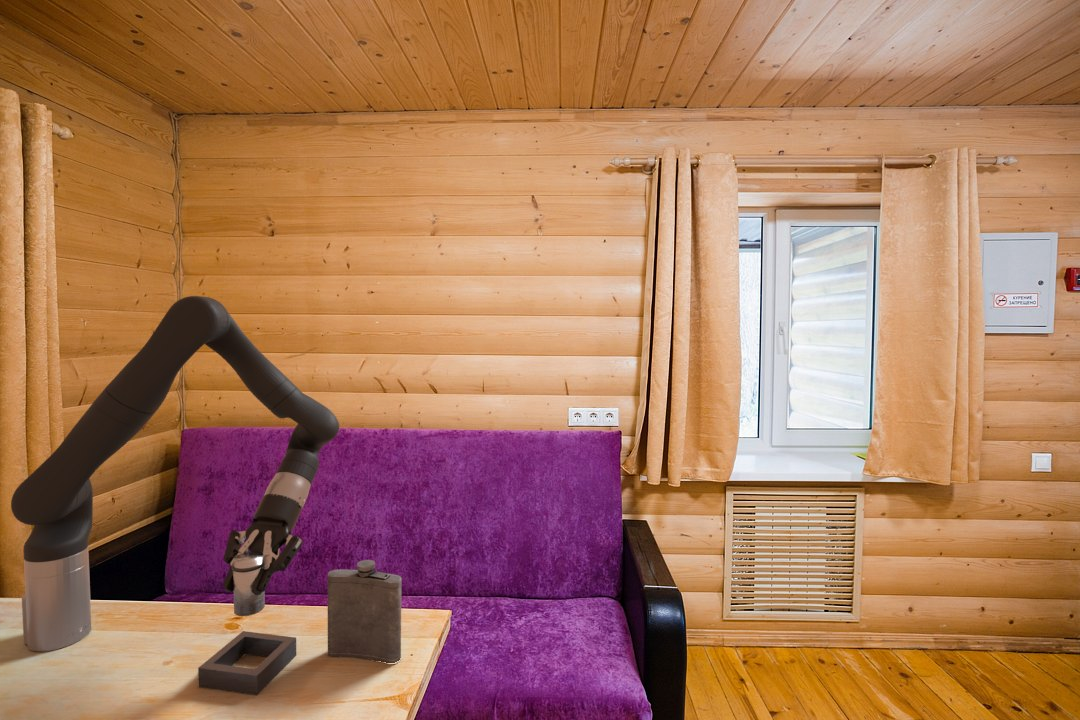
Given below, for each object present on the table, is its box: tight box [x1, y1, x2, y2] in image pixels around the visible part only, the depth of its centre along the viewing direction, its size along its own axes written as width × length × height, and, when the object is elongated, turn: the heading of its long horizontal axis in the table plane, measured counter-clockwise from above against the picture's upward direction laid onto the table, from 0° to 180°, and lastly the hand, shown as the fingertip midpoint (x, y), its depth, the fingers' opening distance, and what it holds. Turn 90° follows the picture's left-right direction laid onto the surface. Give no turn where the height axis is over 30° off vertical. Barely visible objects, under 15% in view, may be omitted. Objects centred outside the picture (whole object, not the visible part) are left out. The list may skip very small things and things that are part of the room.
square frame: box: [197, 630, 297, 696], centre depth 96 cm, size 11×11×4 cm
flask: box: [327, 559, 403, 663], centre depth 101 cm, size 4×14×18 cm, turn 82°
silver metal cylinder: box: [232, 551, 266, 617], centre depth 95 cm, size 5×5×10 cm
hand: (241, 591), depth 93 cm, fingers closed on silver metal cylinder, 4 cm apart
